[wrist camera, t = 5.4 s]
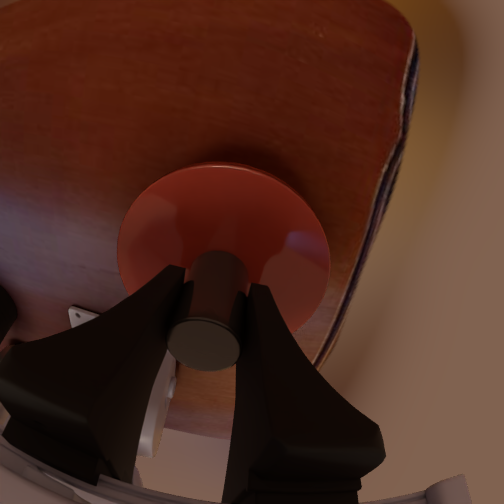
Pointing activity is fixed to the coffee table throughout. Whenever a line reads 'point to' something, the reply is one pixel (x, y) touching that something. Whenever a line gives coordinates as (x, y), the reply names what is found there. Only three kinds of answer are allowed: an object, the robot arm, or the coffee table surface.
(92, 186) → the coffee table surface
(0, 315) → the drinking cup
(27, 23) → the coffee table surface
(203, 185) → the red lid
